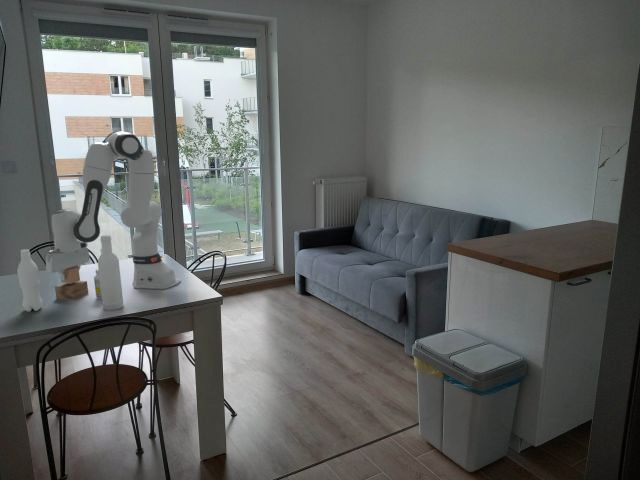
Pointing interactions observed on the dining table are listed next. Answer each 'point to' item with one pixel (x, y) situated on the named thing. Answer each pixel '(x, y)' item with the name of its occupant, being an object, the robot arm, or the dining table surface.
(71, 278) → the brown cardboard box
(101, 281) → the bottle
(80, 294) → the walnut box
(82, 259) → the robot arm
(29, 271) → the water bottle
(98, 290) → the supplement bottle
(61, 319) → the dining table surface
